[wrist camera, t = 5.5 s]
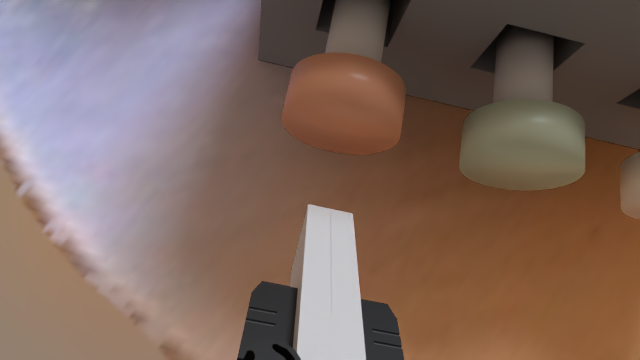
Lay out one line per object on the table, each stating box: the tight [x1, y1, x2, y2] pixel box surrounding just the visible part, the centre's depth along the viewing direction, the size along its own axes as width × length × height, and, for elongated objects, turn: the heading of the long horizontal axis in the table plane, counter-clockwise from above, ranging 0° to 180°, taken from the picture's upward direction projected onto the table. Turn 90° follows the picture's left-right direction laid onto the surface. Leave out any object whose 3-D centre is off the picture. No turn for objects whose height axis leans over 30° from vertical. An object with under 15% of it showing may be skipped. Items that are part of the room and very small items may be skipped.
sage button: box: [459, 27, 585, 191], centre depth 19 cm, size 4×6×4 cm
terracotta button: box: [281, 0, 406, 154], centre depth 19 cm, size 4×6×4 cm
